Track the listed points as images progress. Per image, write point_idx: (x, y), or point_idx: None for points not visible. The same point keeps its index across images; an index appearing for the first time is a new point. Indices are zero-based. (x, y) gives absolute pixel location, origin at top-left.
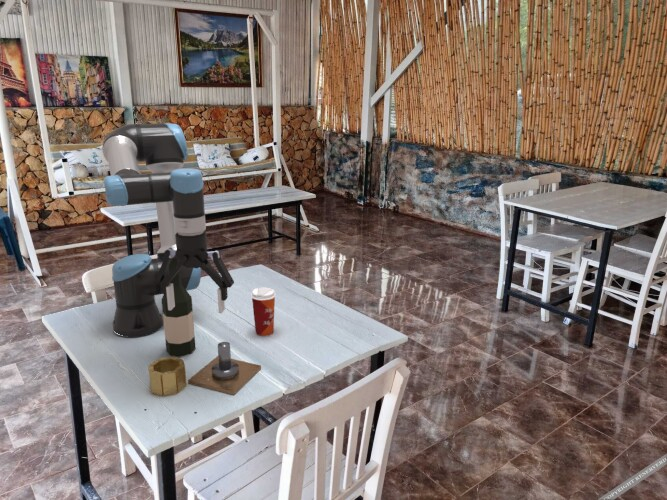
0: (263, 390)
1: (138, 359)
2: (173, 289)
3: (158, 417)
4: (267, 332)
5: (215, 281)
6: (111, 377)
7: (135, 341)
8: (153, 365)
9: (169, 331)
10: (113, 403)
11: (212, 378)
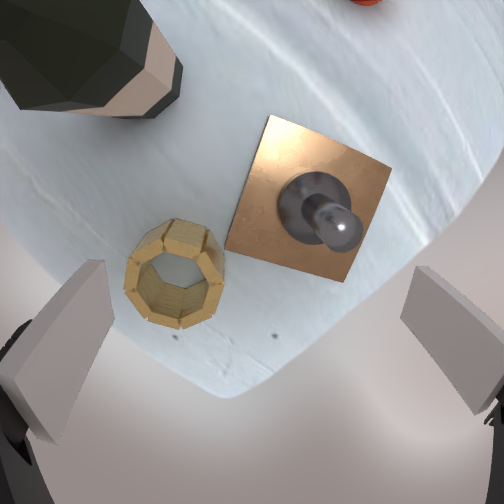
0: (394, 255)
1: (58, 154)
2: (43, 335)
3: (210, 354)
4: (375, 2)
5: (498, 460)
6: (48, 240)
7: None
8: (136, 289)
9: (96, 113)
10: None
11: (285, 236)
